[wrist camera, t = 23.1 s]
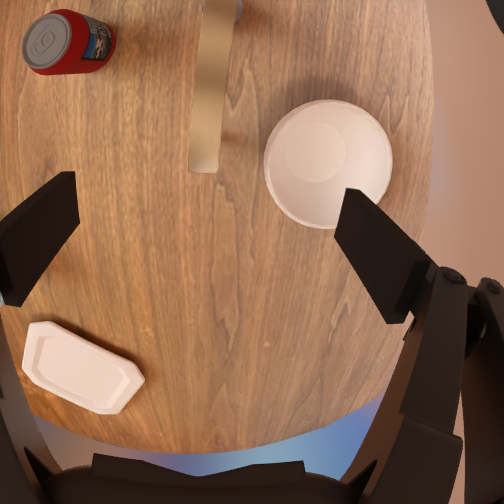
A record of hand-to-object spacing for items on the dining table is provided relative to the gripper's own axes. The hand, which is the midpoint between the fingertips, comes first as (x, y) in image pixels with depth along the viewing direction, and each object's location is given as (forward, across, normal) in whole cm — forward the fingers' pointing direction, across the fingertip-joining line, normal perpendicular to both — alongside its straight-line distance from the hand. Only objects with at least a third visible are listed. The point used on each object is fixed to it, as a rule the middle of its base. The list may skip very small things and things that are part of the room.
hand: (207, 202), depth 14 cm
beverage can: (+25, -16, +10) cm, 31 cm away
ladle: (+25, -1, +7) cm, 26 cm away
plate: (+25, -26, -47) cm, 59 cm away
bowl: (+25, +13, -2) cm, 28 cm away
